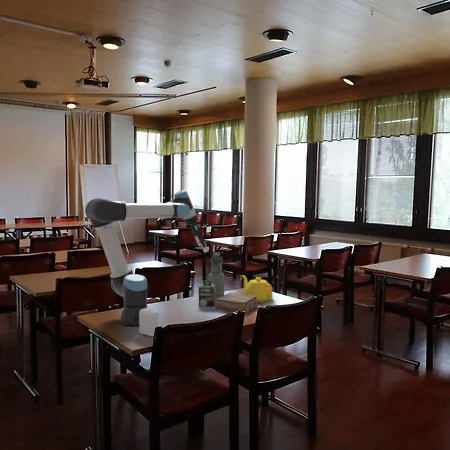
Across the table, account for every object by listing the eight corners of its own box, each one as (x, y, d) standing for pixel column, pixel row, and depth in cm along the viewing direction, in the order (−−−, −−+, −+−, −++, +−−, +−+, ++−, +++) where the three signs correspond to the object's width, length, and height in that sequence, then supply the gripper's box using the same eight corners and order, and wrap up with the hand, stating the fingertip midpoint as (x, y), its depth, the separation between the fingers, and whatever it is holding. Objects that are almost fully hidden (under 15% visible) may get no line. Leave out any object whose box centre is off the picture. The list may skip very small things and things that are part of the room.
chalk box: (215, 302, 274) (216, 278, 272) (214, 307, 265) (214, 281, 263) (200, 302, 275) (200, 278, 273) (198, 306, 266) (198, 281, 264)
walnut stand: (244, 313, 251) (244, 303, 251) (215, 309, 259) (215, 298, 259) (256, 306, 267) (257, 296, 267) (229, 302, 275) (229, 292, 275)
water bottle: (222, 300, 280) (222, 254, 278) (206, 299, 282) (207, 254, 280) (225, 296, 290) (226, 252, 288) (210, 295, 292) (211, 251, 290)
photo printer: (137, 333, 215) (137, 308, 214) (144, 331, 219) (144, 306, 218) (153, 338, 209) (153, 311, 208) (160, 336, 213) (160, 309, 212)
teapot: (232, 297, 287) (232, 276, 286) (251, 293, 300) (251, 272, 298) (262, 305, 270) (263, 282, 268) (281, 300, 282) (281, 278, 281)
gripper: (201, 218, 251) (214, 251, 257) (191, 209, 274) (204, 240, 281) (188, 224, 249) (202, 257, 256) (179, 214, 273) (193, 245, 279)
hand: (203, 248), depth 268 cm, fingers open, 13 cm apart
